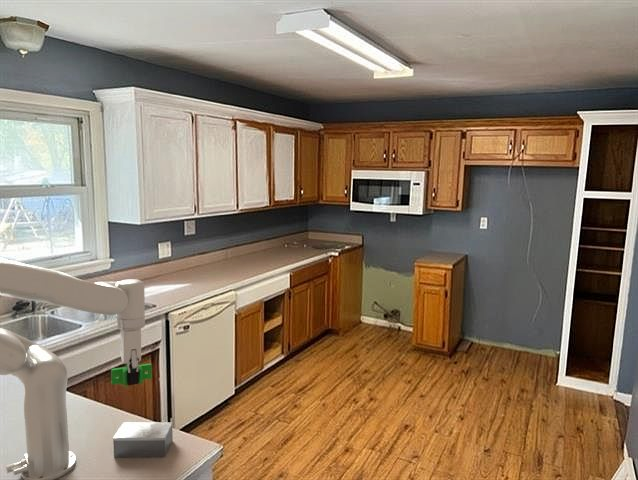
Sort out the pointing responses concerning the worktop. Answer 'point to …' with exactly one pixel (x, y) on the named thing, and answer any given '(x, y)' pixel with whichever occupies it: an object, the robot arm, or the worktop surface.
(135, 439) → the gray rectangular block
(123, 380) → the pipe clamp
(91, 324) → the worktop surface
